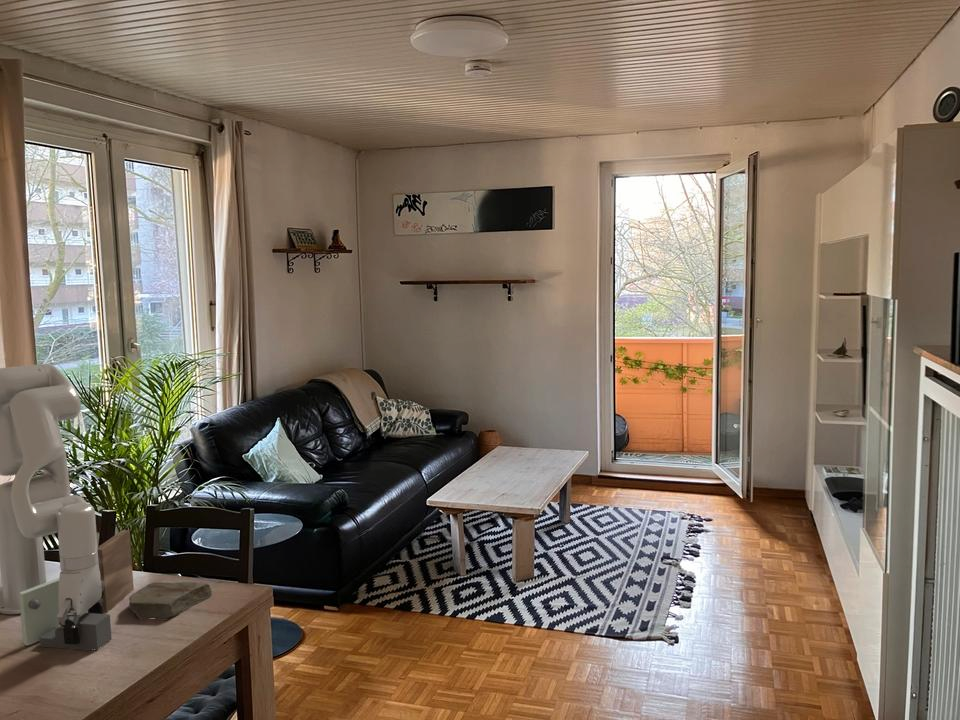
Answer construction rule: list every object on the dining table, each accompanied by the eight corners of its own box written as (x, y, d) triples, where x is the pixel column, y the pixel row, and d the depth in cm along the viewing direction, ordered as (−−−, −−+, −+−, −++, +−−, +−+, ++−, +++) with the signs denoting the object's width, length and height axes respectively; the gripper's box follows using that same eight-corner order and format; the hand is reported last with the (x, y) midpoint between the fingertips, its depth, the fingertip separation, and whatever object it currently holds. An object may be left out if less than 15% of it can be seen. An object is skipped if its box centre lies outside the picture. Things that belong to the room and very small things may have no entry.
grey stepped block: (39, 646, 172) (37, 620, 171) (55, 635, 177) (53, 610, 176) (97, 650, 170) (95, 624, 169) (111, 639, 175) (109, 614, 174)
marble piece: (213, 595, 198) (212, 580, 198) (184, 622, 184) (183, 605, 183) (152, 592, 201) (151, 577, 200) (118, 618, 186) (117, 602, 186)
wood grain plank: (98, 612, 188) (94, 549, 186) (126, 589, 202) (122, 530, 200) (106, 612, 188) (102, 549, 186) (133, 589, 202) (129, 530, 200)
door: (23, 644, 172) (18, 592, 171) (95, 612, 187) (92, 565, 186) (30, 647, 171) (25, 595, 169) (102, 615, 186) (99, 567, 184)
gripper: (84, 545, 180) (89, 614, 182) (39, 575, 163) (45, 652, 165) (115, 545, 180) (120, 615, 182) (73, 576, 163) (79, 652, 165)
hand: (84, 632), depth 174 cm, fingers open, 9 cm apart
